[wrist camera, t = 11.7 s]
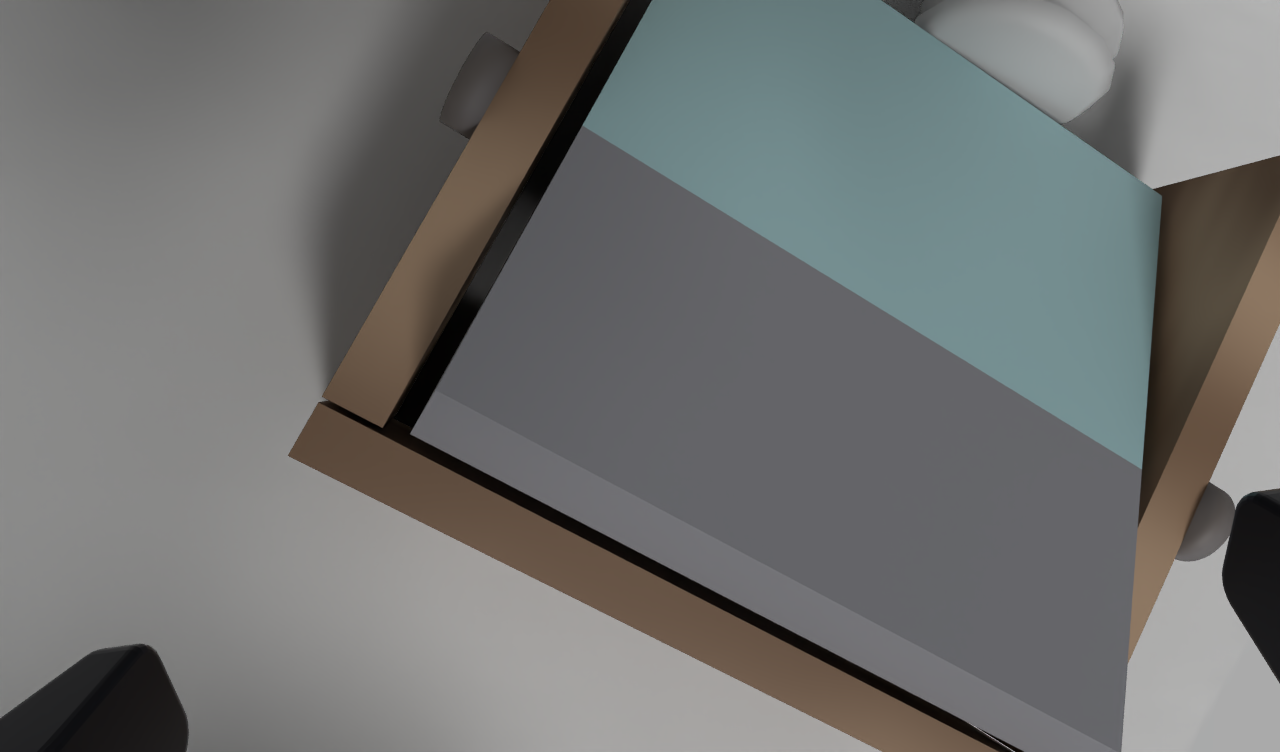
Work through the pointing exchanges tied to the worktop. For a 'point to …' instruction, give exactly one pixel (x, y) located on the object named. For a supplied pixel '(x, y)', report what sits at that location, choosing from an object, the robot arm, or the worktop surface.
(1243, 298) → the walnut stand
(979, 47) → the rook chess piece
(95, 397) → the worktop surface
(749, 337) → the trapdoor flap
